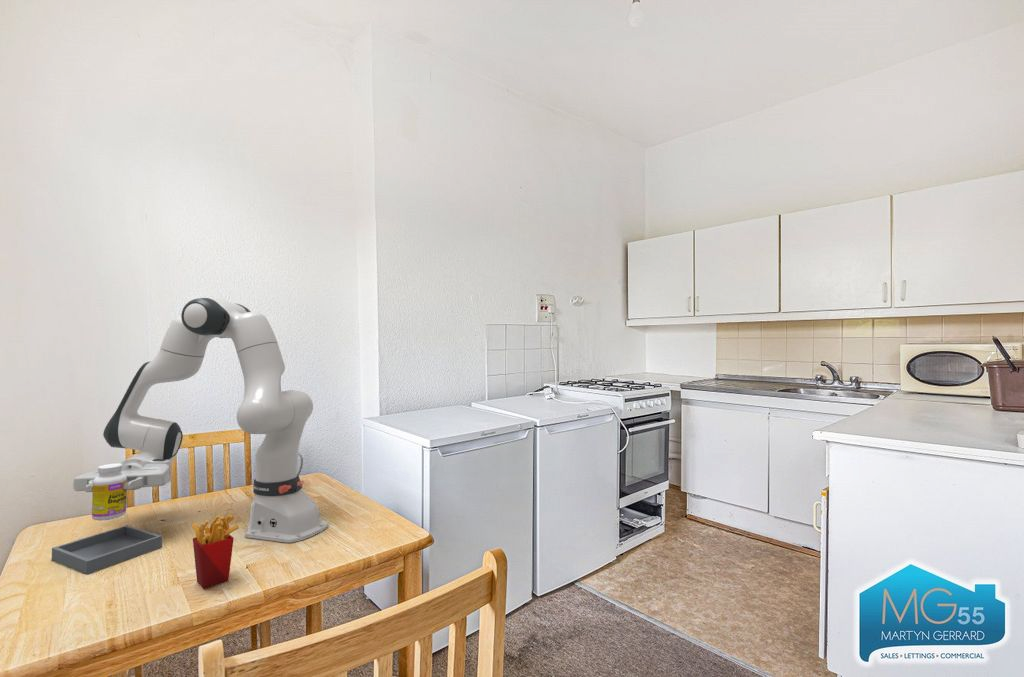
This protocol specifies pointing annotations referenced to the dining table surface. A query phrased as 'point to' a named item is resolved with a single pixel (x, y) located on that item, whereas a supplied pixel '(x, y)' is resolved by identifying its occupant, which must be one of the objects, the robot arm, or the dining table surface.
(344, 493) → the dining table surface
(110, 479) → the supplement bottle
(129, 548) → the tray
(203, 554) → the french fries
